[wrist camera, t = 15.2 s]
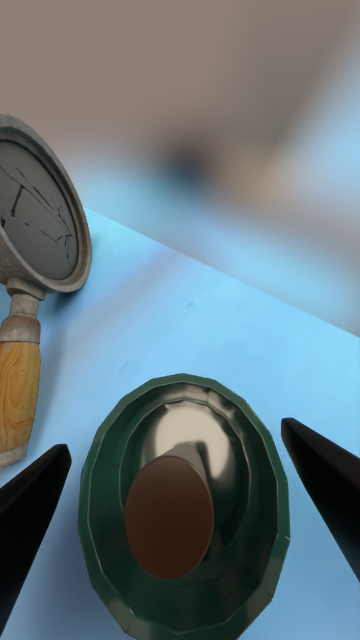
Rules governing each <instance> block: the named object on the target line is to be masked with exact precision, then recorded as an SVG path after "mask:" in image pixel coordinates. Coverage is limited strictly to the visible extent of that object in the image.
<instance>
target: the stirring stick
mask: <svg viewBox="0 0 360 640" xmlns="http://www.w3.org/2000/svg"><path fill="white" fill-rule="evenodd" d="M124 528H125V534H126V539H127V542H128V545H129V548H130V550H131V553H132V555H133V557H134V558H135V560H136V561H137V563H138V564H139V565H140V566H141V567H142V568H143V569H144V570H145V571H146V572H147V573H149V574H150V575H152V576H154V577H157V578H159V579H165V580H172V579H177V578H181V577H183V576H185V575H187V574H188V573H190V572H191V571H192V570H193V569H194V568H195V567H196V566H197V565H198V564H199V563H200V561H201V560H202V559H203V557H204V555H205V553H206V552H207V549H208V547H209V544H210V541H211V538H212V533H213V528H214V507H213V500H212V496H211V492H210V488H209V485H208V481H207V478H206V474H205V470H204V467H203V463H202V460H201V456H200V454H199V452H198V451H197V450H196V449H195V448H194V447H193V446H191V445H189V444H180V445H178V446H176V447H174V448H172V449H171V450H169V451H167V452H165V453H164V454H162V455H160V456H158V457H157V458H155V459H153V460H152V461H150V462H148V463H147V464H146V465H145V466H144V467H143V468H142V469H141V470H140V471H139V472H138V474H137V475H136V477H135V478H134V480H133V482H132V484H131V486H130V488H129V491H128V494H127V498H126V502H125V508H124Z"/></svg>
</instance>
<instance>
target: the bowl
mask: <svg viewBox="0 0 360 640" xmlns="http://www.w3.org/2000/svg"><path fill="white" fill-rule="evenodd" d="M180 444H189V445H191V446H193V447H194V448H195V449H196V450H197V451H198V452H199V454H200V456H201V460H202V463H203V467H204V470H205V474H206V478H207V481H208V485H209V488H210V492H211V496H212V500H213V507H214V528H213V533H212V538H211V541H210V544H209V547H208V549H207V552H206V553H205V555H204V557H203V559H202V560H201V561H200V563H199V564H198V565H197V566H196V567H195V568H194V569H193V570H192V571H191V572H190V573H188V574H187V575H185V576H183V577H181V578H177V579H172V580H165V579H159V578H157V577H154V576H152V575H150V574H149V573H147V572H146V571H145V570H144V569H143V568H142V567H141V566H140V565H139V564H138V563H137V561H136V560H135V558H134V557H133V555H132V553H131V550H130V548H129V545H128V542H127V539H126V534H125V528H124V508H125V502H126V498H127V494H128V491H129V488H130V486H131V484H132V482H133V480H134V478H135V477H136V475H137V474H138V472H139V471H140V470H141V469H142V468H143V467H144V466H145V465H146V464H147V463H148V462H150V461H152V460H153V459H155V458H157V457H158V456H160V455H162V454H164V453H165V452H167V451H169V450H171V449H172V448H174V447H176V446H178V445H180ZM77 526H78V532H79V536H80V541H81V545H82V549H83V553H84V557H85V561H86V565H87V570H88V574H89V578H90V582H91V584H92V587H93V589H94V590H95V592H96V593H97V594H98V596H99V597H100V599H101V600H102V601H103V603H104V604H105V606H106V607H107V608H108V610H109V611H110V613H111V614H112V616H113V617H114V618H115V620H116V621H117V623H118V624H119V625H120V627H121V628H122V630H123V631H124V633H125V634H126V633H127V635H128V636H130V637H132V638H135V639H137V640H237V639H238V638H239V637H240V636H241V635H242V634H243V632H244V631H245V630H246V629H247V628H248V627H249V626H250V625H251V623H252V622H253V621H254V620H255V619H256V618H257V617H258V616H259V614H260V613H261V612H262V611H263V610H264V609H265V608H266V607H267V606H268V604H269V603H270V602H271V601H272V598H273V596H274V593H275V590H276V586H277V583H278V580H279V576H280V573H281V570H282V566H283V563H284V560H285V557H286V553H287V550H288V547H289V543H290V515H289V493H288V481H287V477H286V474H285V471H284V468H283V466H282V463H281V460H280V457H279V455H278V452H277V449H276V446H275V444H274V441H273V438H272V435H271V434H270V432H269V430H268V429H267V428H266V426H265V425H264V424H263V423H262V421H261V420H260V419H259V417H258V416H257V415H256V413H255V412H254V411H253V410H252V408H251V407H250V406H249V404H248V403H247V402H246V400H244V399H243V398H242V397H240V396H239V395H237V394H236V393H234V392H233V391H231V390H230V389H228V388H227V387H225V386H223V385H222V384H220V383H219V382H217V381H216V380H213V379H209V378H204V377H199V376H194V375H189V374H185V373H183V374H182V373H180V374H175V375H170V376H165V377H159V378H154V379H151V380H149V381H147V382H146V383H144V384H143V385H141V386H140V387H138V388H137V389H135V390H133V391H132V392H130V393H129V394H127V395H126V396H124V397H123V398H122V399H121V400H120V401H119V402H118V404H117V405H116V406H115V407H114V409H113V410H112V411H111V413H110V414H109V415H108V416H107V418H106V419H105V420H104V421H103V423H102V424H101V425H100V427H99V428H98V430H97V432H96V435H95V437H94V440H93V443H92V445H91V448H90V451H89V453H88V456H87V458H86V461H85V464H84V466H83V469H82V473H81V481H80V495H79V509H78V522H77Z"/></svg>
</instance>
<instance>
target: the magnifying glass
mask: <svg viewBox="0 0 360 640" xmlns="http://www.w3.org/2000/svg"><path fill="white" fill-rule="evenodd" d="M91 260H92V249H91V239H90V233H89V228H88V224H87V220H86V216H85V213H84V210H83V207H82V204H81V201H80V199H79V197H78V194H77V192H76V189H75V188H74V185H73V183H72V181H71V179H70V177H69V175H68V174H67V172H66V170H65V168H64V167H63V165H62V163H61V162H60V160H59V159H58V157H57V156H56V155H55V153H54V152H53V150H52V149H51V148H50V147H49V145H48V144H47V143H46V142H45V141H44V139H43V138H42V137H41V136H40V135H39V134H38V133H37V132H36V131H35V130H33V129H32V128H31V127H30V126H29V125H27V124H26V123H24V122H23V121H22V120H20V119H19V118H16V117H14V116H11V115H9V114H6V113H5V114H4V113H1V114H0V283H2V284H4V285H6V286H7V287H6V290H7V292H8V294H9V295H10V296H11V298H12V302H11V308H10V313H9V315H8V317H7V318H6V319H5V320H3V322H2V325H1V328H0V468H1V467H4V466H7V465H10V464H13V463H15V462H17V461H20V460H21V459H23V458H24V457H26V455H27V448H28V440H29V438H30V435H31V431H32V426H33V421H34V416H35V409H36V403H37V396H38V388H39V378H40V349H39V344H40V323H39V321H38V320H37V313H38V306H39V301H44V300H45V294H52V293H65V292H73V291H76V290H77V289H79V288H81V286H82V285H83V284H84V283H85V281H86V279H87V278H88V275H89V272H90V268H91Z"/></svg>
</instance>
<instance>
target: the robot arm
mask: <svg viewBox="0 0 360 640" xmlns="http://www.w3.org/2000/svg"><path fill="white" fill-rule="evenodd" d="M281 437H282V440H283V443H284V445H285V447H286V449H287V451H288V453H289V456H290V458H291V460H292V462H293V464H294V466H295V468H296V470H297V473H298V475H299V477H300V479H301V481H302V483H303V485H304V487H305V488H306V490H307V492H308V494H309V495H310V497H311V499H312V501H313V502H314V504H315V506H316V508H317V509H318V511H319V513H320V515H321V516H322V518H323V520H324V521H325V523H326V525H327V527H328V528H329V530H330V532H331V534H332V535H333V537H334V539H335V541H336V542H337V544H338V546H339V547H340V549H341V551H342V553H343V554H344V556H345V558H346V560H347V561H348V563H349V565H350V567H351V568H352V570H353V572H354V573H355V575H356V577H357V579H358V580H359V582H360V458H358V457H357V456H355V455H353V454H352V453H350V452H348V451H347V450H345V449H343V448H342V447H340V446H338V445H337V444H335V443H334V442H332V441H330V440H329V439H327V438H325V437H324V436H322V435H320V434H319V433H317V432H315V431H314V430H312V429H310V428H309V427H307V426H306V425H304V424H302V423H301V422H299V421H297V420H296V419H294V418H291V417H290V418H283V419H282V420H281ZM71 462H72V460H71V456H70V452H69V449H68V446H67V445H66V444H57V445H54V446H53V447H52V448H51V449H49V450H48V451H47V452H45V453H44V454H43V455H42V456H40V457H39V458H38V459H37V460H35V461H34V462H33V463H32V464H30V465H29V466H28V467H27V468H25V469H24V470H23V471H21V472H20V473H19V474H18V475H16V476H15V477H14V478H13V479H11V480H10V481H9V482H8V483H6V484H5V485H4V486H2V487H1V488H0V637H1V635H2V632H3V630H4V628H5V625H6V623H7V621H8V619H9V616H10V614H11V612H12V609H13V607H14V605H15V602H16V600H17V598H18V595H19V593H20V591H21V589H22V586H23V584H24V582H25V579H26V577H27V575H28V572H29V570H30V568H31V566H32V563H33V561H34V559H35V556H36V554H37V552H38V549H39V547H40V545H41V543H42V540H43V538H44V536H45V533H46V531H47V529H48V526H49V524H50V522H51V519H52V517H53V515H54V512H55V510H56V507H57V504H58V501H59V498H60V496H61V493H62V490H63V487H64V484H65V481H66V478H67V475H68V472H69V470H70V467H71Z"/></svg>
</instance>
